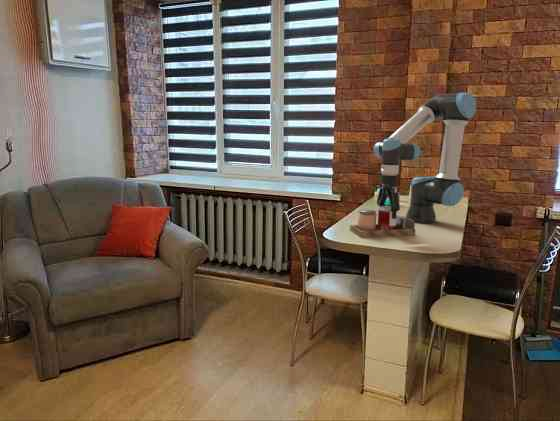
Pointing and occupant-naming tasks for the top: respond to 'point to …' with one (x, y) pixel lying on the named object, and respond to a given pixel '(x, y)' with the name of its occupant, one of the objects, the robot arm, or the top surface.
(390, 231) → the wooden box
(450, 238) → the top surface
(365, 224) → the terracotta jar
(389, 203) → the donuts
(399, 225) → the bar
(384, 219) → the canned food
